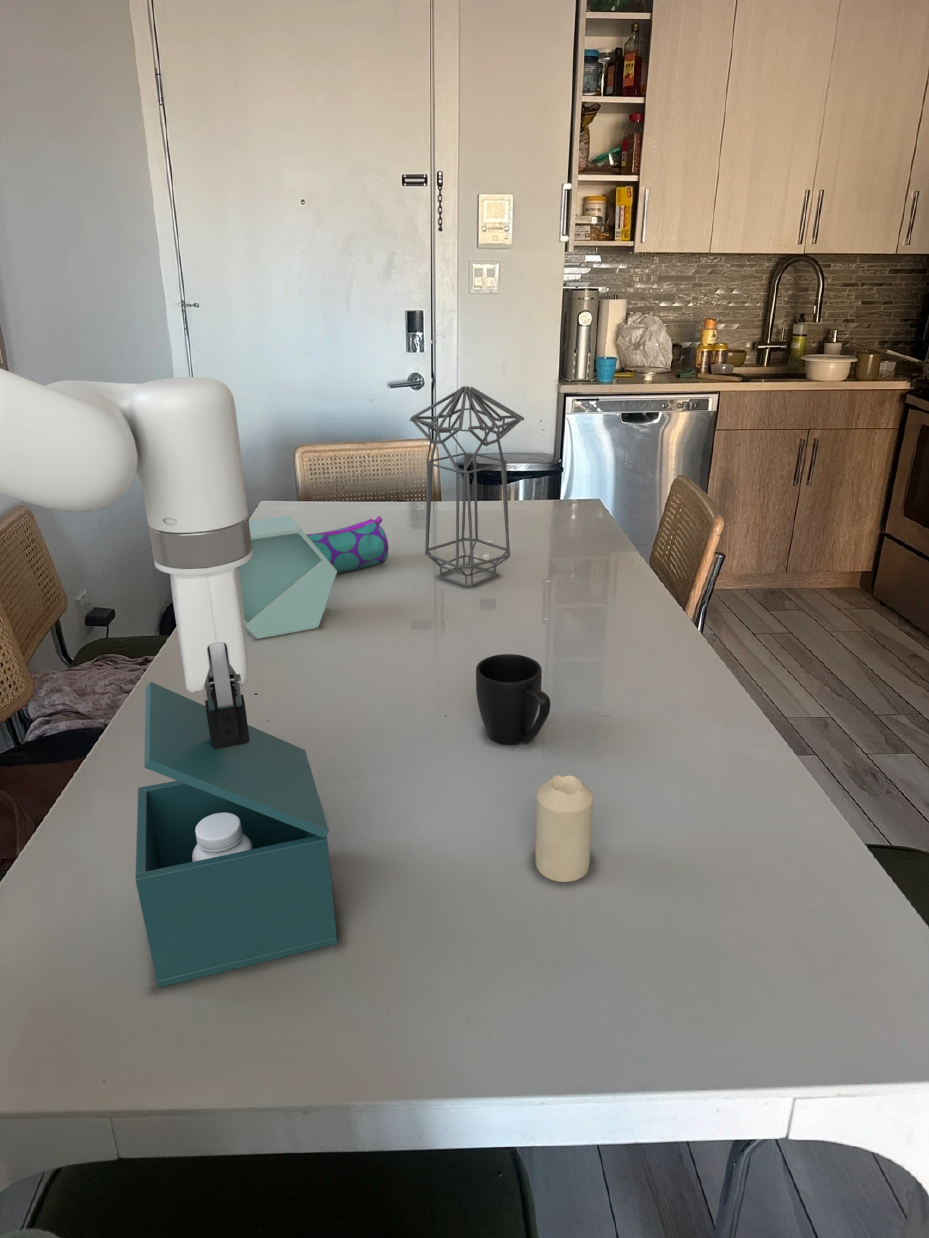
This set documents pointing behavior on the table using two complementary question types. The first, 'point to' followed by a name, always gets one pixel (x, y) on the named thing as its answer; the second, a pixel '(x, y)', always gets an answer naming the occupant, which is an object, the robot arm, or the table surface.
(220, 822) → the supplement bottle
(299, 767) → the cool box lid
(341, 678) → the table surface
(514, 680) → the mug
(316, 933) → the teal open box
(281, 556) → the planter
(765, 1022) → the table surface
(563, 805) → the candle
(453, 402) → the geometric lantern
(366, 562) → the pencil case
